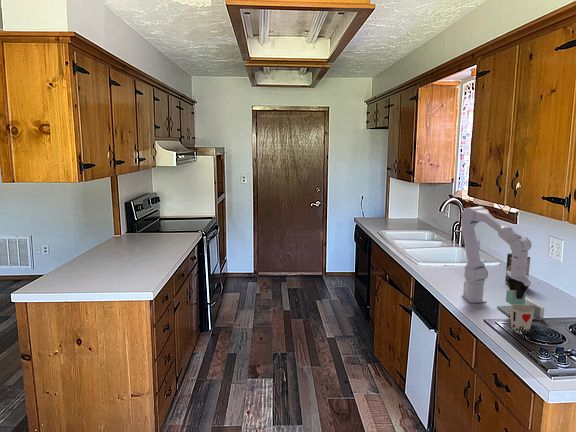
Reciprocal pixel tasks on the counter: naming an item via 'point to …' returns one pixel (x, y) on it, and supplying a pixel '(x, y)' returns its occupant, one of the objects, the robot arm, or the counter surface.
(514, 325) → the cup
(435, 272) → the counter surface
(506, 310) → the rail base
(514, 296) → the module
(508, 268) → the coffee box
